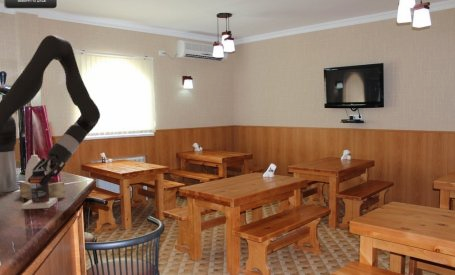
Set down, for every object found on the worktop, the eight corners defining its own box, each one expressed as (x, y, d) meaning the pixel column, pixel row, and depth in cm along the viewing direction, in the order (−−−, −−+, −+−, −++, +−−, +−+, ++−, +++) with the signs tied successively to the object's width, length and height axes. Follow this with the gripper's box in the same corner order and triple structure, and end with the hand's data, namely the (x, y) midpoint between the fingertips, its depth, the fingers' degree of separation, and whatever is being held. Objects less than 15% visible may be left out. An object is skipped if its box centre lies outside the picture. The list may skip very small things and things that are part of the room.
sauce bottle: (31, 193, 157) (28, 150, 155) (23, 191, 162) (20, 149, 160) (50, 190, 163) (47, 148, 162) (41, 187, 168) (38, 147, 166)
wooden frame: (39, 202, 142) (38, 186, 141) (20, 196, 152) (19, 182, 151) (65, 196, 150) (64, 181, 149) (45, 191, 160) (44, 177, 159)
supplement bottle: (44, 198, 142) (42, 168, 141) (52, 200, 138) (50, 169, 137) (28, 201, 137) (26, 170, 136) (36, 203, 133) (34, 171, 133)
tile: (22, 209, 132) (22, 204, 132) (32, 202, 141) (32, 198, 141) (49, 207, 134) (48, 203, 133) (57, 201, 142) (57, 197, 142)
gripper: (47, 141, 146) (18, 175, 138) (66, 143, 137) (36, 179, 129) (61, 153, 150) (34, 187, 142) (80, 156, 142) (52, 192, 134)
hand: (35, 183), depth 136 cm, fingers open, 8 cm apart
